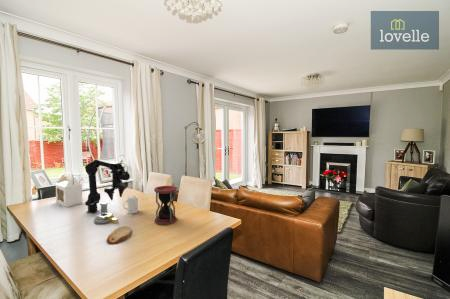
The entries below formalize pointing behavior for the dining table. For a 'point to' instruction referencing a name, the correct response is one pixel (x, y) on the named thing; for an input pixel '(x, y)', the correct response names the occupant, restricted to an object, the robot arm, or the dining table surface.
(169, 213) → the hourglass
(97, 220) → the rosette
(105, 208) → the wedge pin
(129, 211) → the mug
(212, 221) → the dining table surface
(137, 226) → the dining table surface
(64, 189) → the gable box
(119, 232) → the slice of bread
